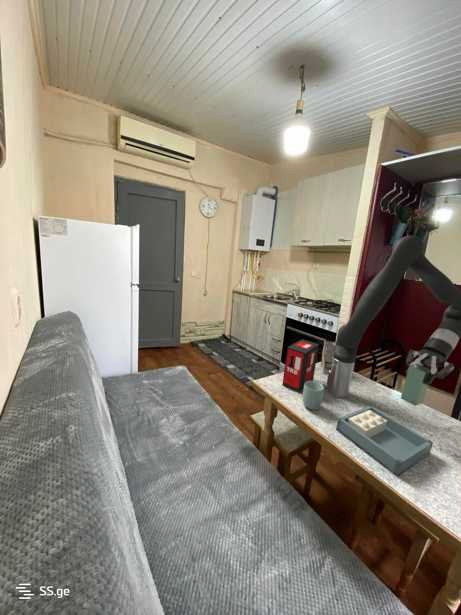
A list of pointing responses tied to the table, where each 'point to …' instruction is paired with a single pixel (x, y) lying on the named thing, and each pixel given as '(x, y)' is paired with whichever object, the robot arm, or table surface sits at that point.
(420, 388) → the tea tin
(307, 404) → the cup
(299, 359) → the cleaning product box
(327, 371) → the coffee box
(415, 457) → the tray
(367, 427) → the egg carton
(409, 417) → the table surface
